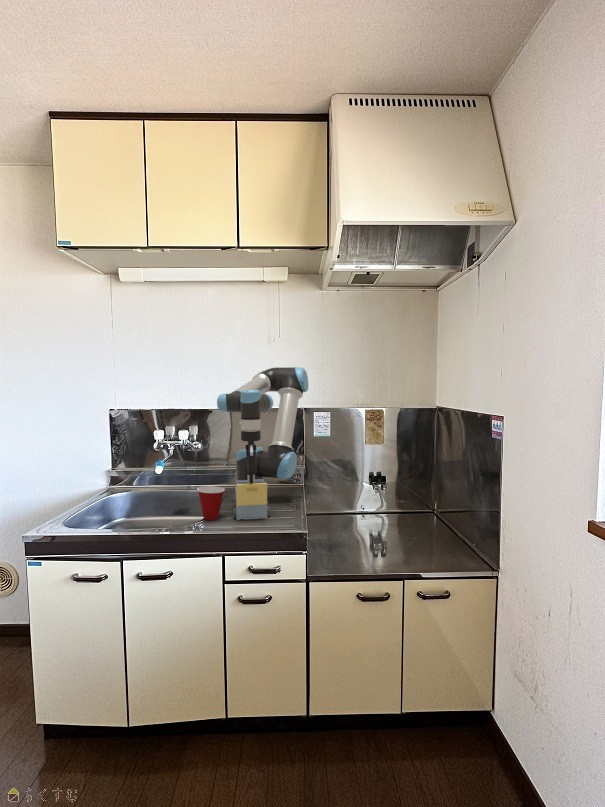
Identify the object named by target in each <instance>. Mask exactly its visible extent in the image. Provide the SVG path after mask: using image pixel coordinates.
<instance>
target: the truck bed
mask: <svg viewBox="0 0 605 807" xmlns="http://www.w3.org/2000/svg"><path fill="white" fill-rule="evenodd" d="M255 483H266V482H265V479H264V478H263V479H255ZM234 484H235V486H234V492H236V502H235V501H232V513H233V515H232V516H233V517H232V518H233V519H236V520H237V521H240V519H244V520H256V519H257V520H258V519H260V518H261V519H268V517H271V507H270V505H269V500H268V499H267V504H264V505H246V506H237V490H236V484H248V480H237V479H236V480H234ZM261 519H260V520H261Z"/></svg>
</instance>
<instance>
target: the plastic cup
mask: <svg viewBox="0 0 605 807" xmlns="http://www.w3.org/2000/svg"><path fill="white" fill-rule="evenodd" d="M196 490H197V493H198V497H199V501H200V502H199V503H200V508H201V513H202V517H203V519H204V520H205V521H216V520H218V519H219V518H218V517H220V511H221V506H222V498H223V495H224V492H225V491H226V489H225V487H222V486H221V487H220V486H212V485H211V486H210V485H209V486H200V487H198V488H197V489H196ZM217 518H218V519H217ZM206 519H207V520H206ZM215 519H216V520H215Z"/></svg>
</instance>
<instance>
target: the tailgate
mask: <svg viewBox="0 0 605 807" xmlns="http://www.w3.org/2000/svg"><path fill="white" fill-rule="evenodd" d="M236 490H237V506H246V505H264V504H267V500H268V482H265V483H249V484H236Z"/></svg>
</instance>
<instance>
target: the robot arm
mask: <svg viewBox="0 0 605 807" xmlns="http://www.w3.org/2000/svg"><path fill="white" fill-rule="evenodd" d="M308 377H309V376H308V373H307V371H306V369H305V368H303V367H301V366H300V367H299V366H298V367H297V366H293V367H286V366H285V367H271V368H267V369H265V370H262V371H261V372H259V373H257V374H255V375H254V376H252V379H251V380H250V381H248V382H246V383H244V384H242V385H241V386H240V387H239V388H237V389H235V390H233V391H232V392H230V393H220V394H219V395H218V396H217V398H216V406H217V409H218V410H219V411H220V412H221V413H240V421H239V422H238V423H239V425H240V429H241V430H240V440H241V441H242V442H247V444H245V448H243V449H239V450H238V451H237V452H236V459H235V461H236V480H248V484H249V483H255V479H264V478H266V479H267V478H269V479H278V480H281V479H282V480H283V479H286V480H287V479H290V478H291V477H293V475H294V473H295V471H296V468H297V463H298V456H297V454H296V452H295V449H294V448H293V446H292V444H293V438H294V431H295V424H296V417H297V413H298V406H299V400H300V399H302V398H303V396H304V393H306V392H308V390H309V378H308ZM268 392H269V393H271V392H278V394H279V396H280V398H279V402H278V403H279V404H278V409H277V414H276V421H275V427H274V432H273V438H272V443H270V444H269V445H268V446H267V447H268V448H267V450H264V449H263V447H262V446H257V444H255V442H260V441H261V437H262V435H261V434H262V433H261V432H262V431H260V430H261V429H262V428H261V427H262V426H261V425H262V422H261V421H262V419H261V413H267V412H269V411H271V409H272V408H273V406H274V399H273V397H272V396H271V395H270V394H268ZM232 498H233V499H232V500H233V502H236V492H235V491H234V493H233V496H232Z"/></svg>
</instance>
